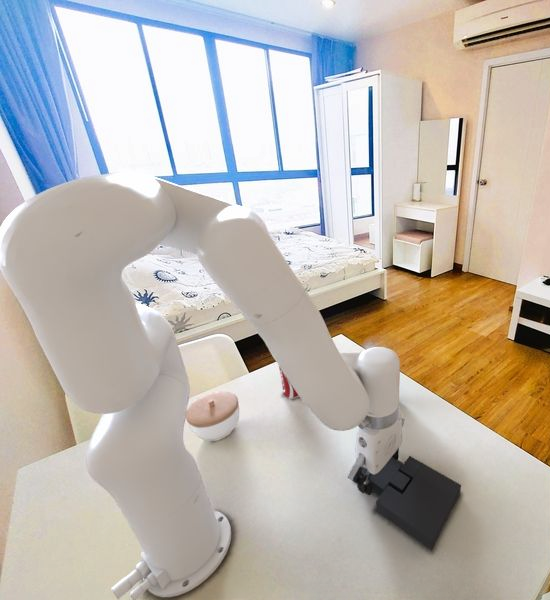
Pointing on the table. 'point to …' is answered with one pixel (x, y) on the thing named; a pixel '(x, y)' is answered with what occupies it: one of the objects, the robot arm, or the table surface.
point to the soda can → (287, 387)
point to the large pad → (420, 502)
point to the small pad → (389, 477)
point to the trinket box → (213, 415)
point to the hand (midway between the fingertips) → (378, 473)
